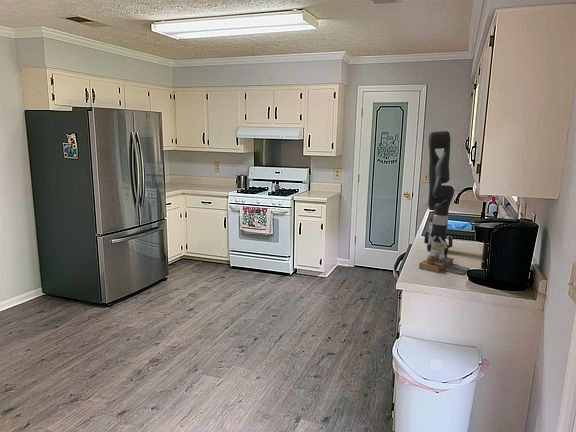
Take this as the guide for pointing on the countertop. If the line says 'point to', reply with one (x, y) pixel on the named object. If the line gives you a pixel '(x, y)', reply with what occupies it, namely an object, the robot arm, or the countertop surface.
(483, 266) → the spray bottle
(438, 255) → the grey labelled box
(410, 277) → the countertop surface
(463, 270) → the rubber mat
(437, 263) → the plane body
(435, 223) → the robot arm
